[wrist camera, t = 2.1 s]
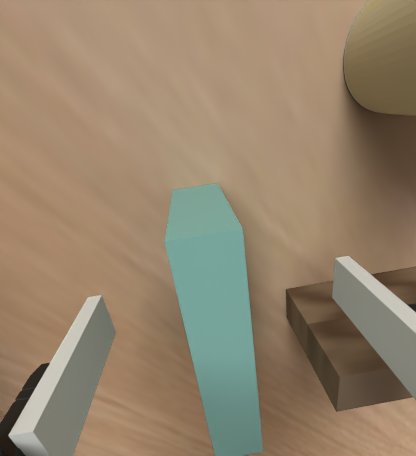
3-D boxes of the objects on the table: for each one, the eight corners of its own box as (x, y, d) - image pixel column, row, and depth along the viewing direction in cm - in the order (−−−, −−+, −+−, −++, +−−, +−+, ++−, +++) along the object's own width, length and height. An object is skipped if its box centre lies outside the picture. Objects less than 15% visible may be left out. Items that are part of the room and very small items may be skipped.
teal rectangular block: (206, 354, 26) (216, 460, 18) (172, 190, 19) (164, 241, 11) (238, 349, 27) (263, 451, 18) (217, 183, 19) (242, 228, 11)
